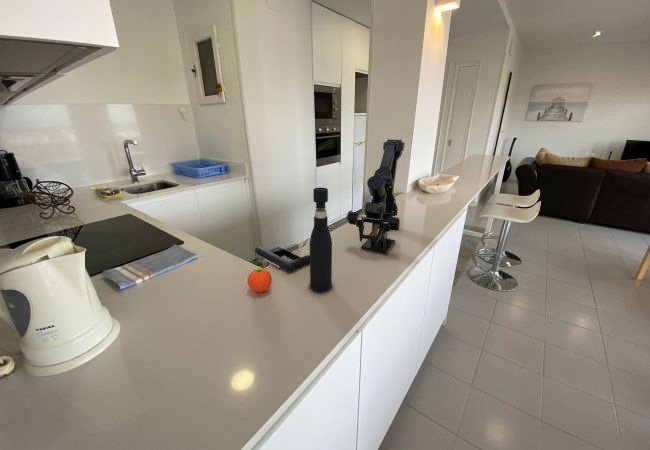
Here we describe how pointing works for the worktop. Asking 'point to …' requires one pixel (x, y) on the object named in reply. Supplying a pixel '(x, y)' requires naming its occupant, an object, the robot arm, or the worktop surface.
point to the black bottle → (320, 245)
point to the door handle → (276, 258)
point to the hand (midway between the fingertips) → (368, 242)
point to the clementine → (259, 279)
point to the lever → (371, 233)
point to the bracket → (382, 244)
